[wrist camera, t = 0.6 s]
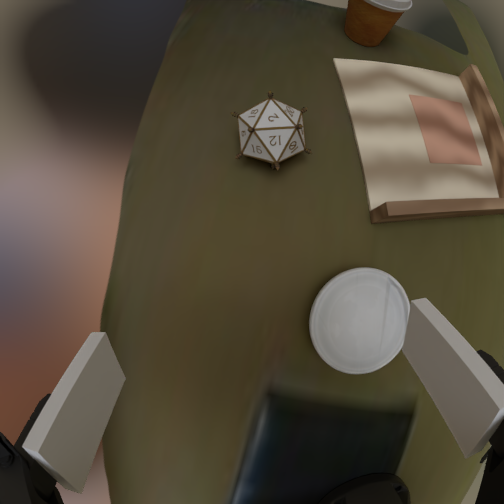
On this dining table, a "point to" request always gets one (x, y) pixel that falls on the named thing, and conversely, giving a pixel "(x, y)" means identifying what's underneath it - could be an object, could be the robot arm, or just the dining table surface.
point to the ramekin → (359, 320)
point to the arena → (424, 140)
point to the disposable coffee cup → (372, 19)
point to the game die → (271, 131)
